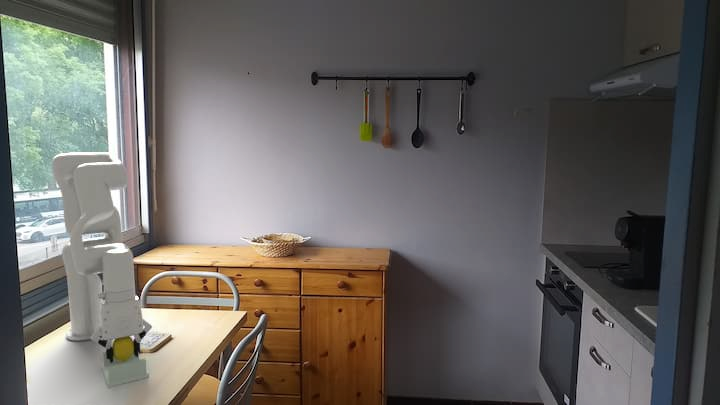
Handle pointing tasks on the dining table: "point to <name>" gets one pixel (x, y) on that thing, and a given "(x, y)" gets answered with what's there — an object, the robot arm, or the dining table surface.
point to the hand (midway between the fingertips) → (123, 357)
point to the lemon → (123, 348)
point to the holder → (124, 370)
